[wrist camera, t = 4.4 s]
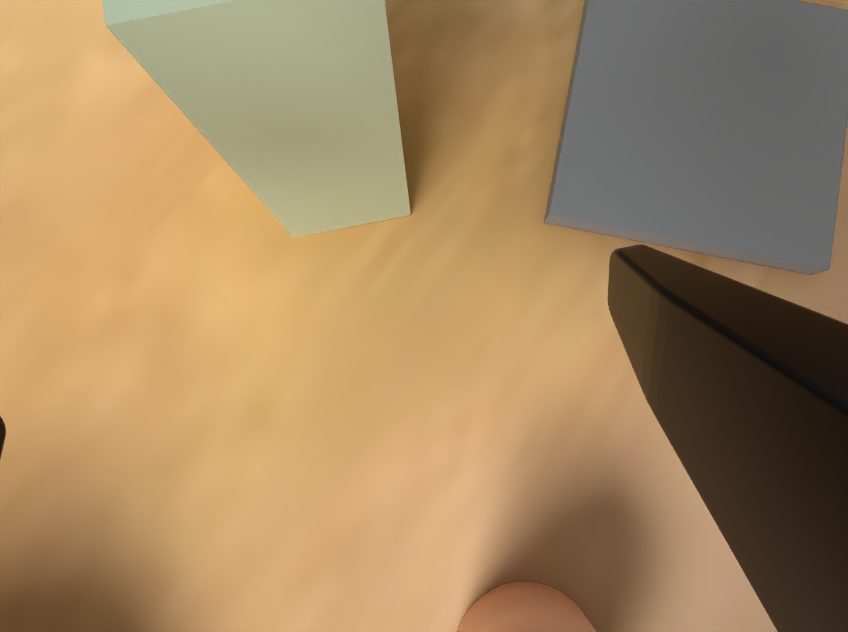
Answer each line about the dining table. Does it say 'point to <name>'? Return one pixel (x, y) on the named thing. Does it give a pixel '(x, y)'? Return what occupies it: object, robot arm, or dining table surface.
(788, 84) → the slate grey pad
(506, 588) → the peach rounded cylinder
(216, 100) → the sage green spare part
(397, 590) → the dining table surface
